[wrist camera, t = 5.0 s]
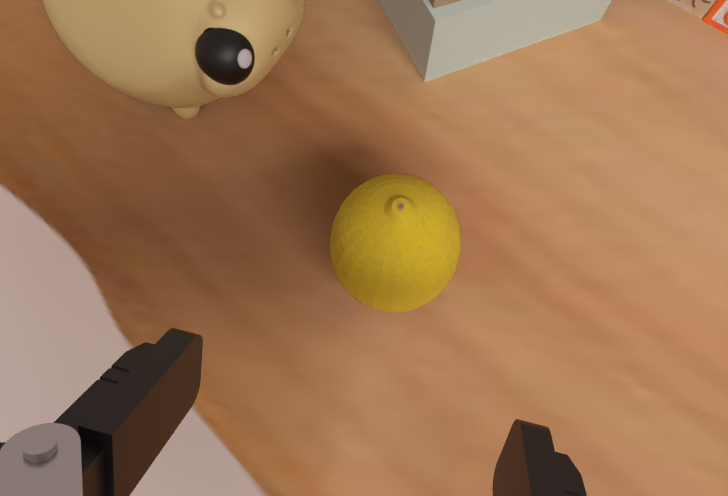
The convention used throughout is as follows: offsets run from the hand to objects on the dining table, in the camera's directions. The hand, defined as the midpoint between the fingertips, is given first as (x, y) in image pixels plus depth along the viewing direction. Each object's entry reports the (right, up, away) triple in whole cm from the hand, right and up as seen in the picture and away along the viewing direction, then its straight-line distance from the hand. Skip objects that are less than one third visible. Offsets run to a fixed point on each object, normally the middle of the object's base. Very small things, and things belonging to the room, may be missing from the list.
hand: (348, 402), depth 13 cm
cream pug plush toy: (-9, +14, +17) cm, 24 cm away
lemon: (+2, +2, +13) cm, 13 cm away
